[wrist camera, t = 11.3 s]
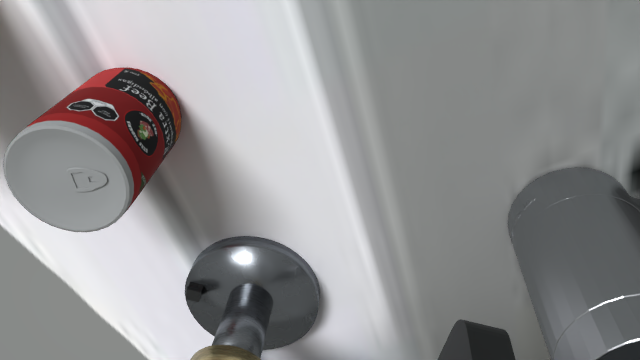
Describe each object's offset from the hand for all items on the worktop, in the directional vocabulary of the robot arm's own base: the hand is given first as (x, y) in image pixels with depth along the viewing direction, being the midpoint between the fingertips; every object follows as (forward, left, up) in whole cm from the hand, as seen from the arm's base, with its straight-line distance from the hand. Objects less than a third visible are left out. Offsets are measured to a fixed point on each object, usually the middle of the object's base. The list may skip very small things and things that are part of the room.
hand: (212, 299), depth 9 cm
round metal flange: (+1, +29, -32) cm, 43 cm away
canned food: (+13, +14, -32) cm, 38 cm away
